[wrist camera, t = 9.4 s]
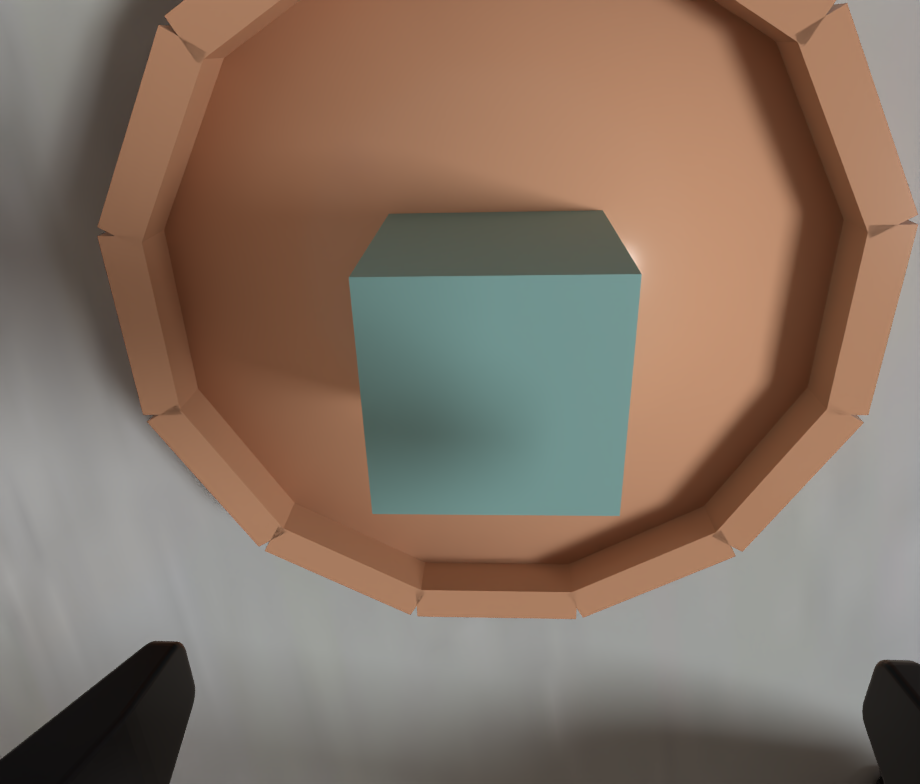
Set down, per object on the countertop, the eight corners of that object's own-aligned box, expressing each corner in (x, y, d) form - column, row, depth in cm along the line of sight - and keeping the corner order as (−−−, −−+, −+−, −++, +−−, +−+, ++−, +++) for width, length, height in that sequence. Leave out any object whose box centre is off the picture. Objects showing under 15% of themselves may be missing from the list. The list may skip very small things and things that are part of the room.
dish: (953, -143, 14) (1021, -170, 12) (787, 575, 22) (813, 622, 20) (64, -105, 15) (5, -125, 13) (217, 567, 23) (193, 612, 21)
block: (602, 210, 16) (641, 274, 12) (590, 401, 19) (619, 516, 14) (389, 213, 17) (348, 277, 12) (402, 401, 19) (372, 513, 14)
